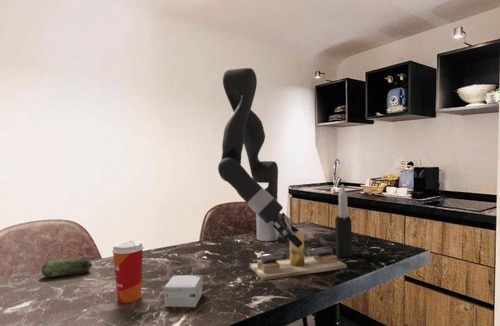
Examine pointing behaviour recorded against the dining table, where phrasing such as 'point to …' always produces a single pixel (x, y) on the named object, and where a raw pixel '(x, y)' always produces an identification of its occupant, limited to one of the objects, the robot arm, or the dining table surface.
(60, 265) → the vegetable
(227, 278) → the dining table surface
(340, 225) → the black and grey bottle
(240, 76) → the robot arm
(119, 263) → the paper cup
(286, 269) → the shaft bench
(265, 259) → the shafts
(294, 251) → the cylinder
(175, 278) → the small box
